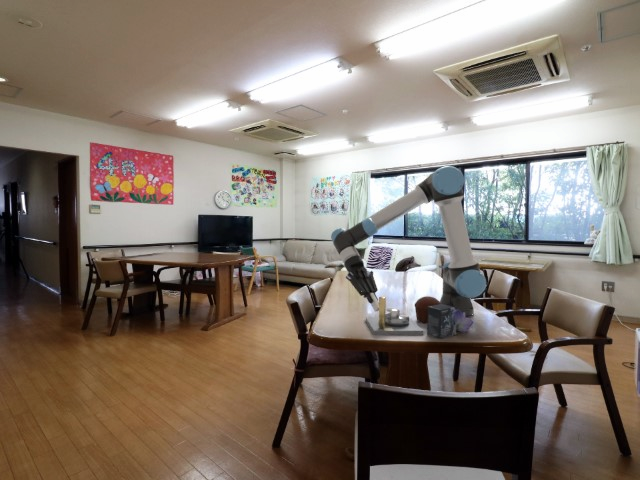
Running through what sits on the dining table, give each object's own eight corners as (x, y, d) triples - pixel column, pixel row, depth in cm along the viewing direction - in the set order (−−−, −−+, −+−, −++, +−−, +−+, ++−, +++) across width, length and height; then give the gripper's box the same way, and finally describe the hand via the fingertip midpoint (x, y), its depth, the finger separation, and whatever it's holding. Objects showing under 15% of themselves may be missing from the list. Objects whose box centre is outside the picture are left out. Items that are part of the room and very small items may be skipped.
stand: (408, 320, 136) (408, 317, 136) (423, 334, 119) (423, 330, 119) (365, 320, 135) (365, 317, 135) (374, 334, 118) (374, 330, 118)
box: (439, 339, 114) (440, 309, 113) (426, 335, 119) (427, 306, 118) (453, 335, 118) (454, 306, 118) (440, 331, 123) (441, 303, 122)
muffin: (442, 326, 128) (443, 301, 128) (413, 324, 132) (414, 299, 131) (441, 318, 139) (442, 295, 139) (414, 316, 143) (415, 293, 142)
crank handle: (389, 315, 136) (389, 289, 135) (414, 321, 128) (414, 293, 128) (367, 324, 123) (368, 295, 123) (393, 331, 116) (394, 300, 116)
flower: (467, 321, 114) (465, 302, 122) (443, 327, 118) (442, 309, 126) (478, 340, 116) (475, 320, 125) (454, 345, 121) (453, 326, 129)
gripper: (360, 264, 141) (385, 312, 128) (335, 266, 135) (359, 317, 121) (368, 253, 137) (395, 302, 124) (343, 255, 130) (369, 306, 117)
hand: (378, 309), depth 123 cm, fingers closed
